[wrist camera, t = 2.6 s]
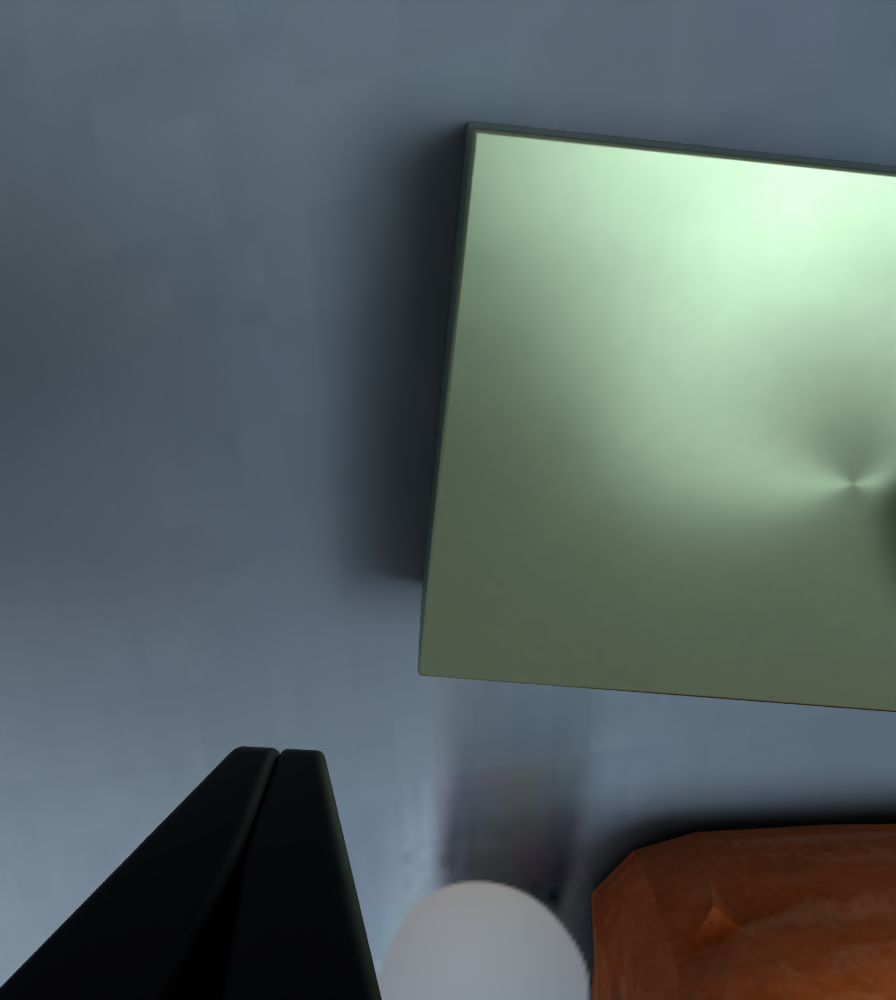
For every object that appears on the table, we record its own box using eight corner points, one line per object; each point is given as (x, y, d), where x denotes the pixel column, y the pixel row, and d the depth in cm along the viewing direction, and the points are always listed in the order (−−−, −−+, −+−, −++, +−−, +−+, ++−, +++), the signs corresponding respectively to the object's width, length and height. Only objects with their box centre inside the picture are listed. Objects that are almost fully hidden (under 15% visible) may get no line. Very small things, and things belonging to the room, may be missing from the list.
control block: (422, 585, 21) (413, 735, 16) (467, 120, 16) (475, 131, 11) (1029, 634, 22) (1201, 793, 17) (1254, 204, 17) (1592, 250, 12)
